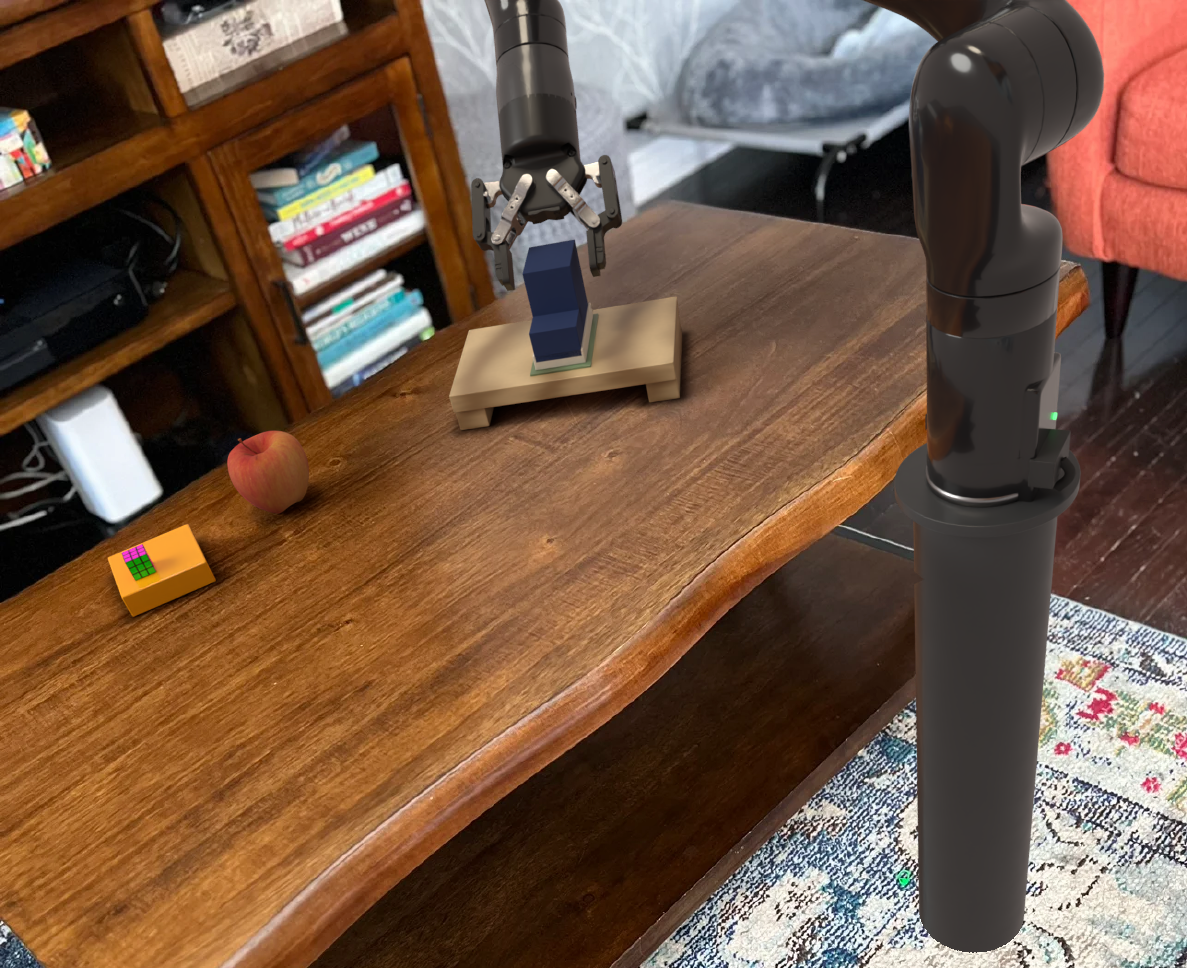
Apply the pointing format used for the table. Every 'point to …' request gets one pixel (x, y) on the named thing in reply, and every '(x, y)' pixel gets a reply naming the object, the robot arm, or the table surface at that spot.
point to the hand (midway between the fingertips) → (552, 280)
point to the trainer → (557, 305)
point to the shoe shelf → (614, 360)
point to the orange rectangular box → (160, 570)
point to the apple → (270, 470)
